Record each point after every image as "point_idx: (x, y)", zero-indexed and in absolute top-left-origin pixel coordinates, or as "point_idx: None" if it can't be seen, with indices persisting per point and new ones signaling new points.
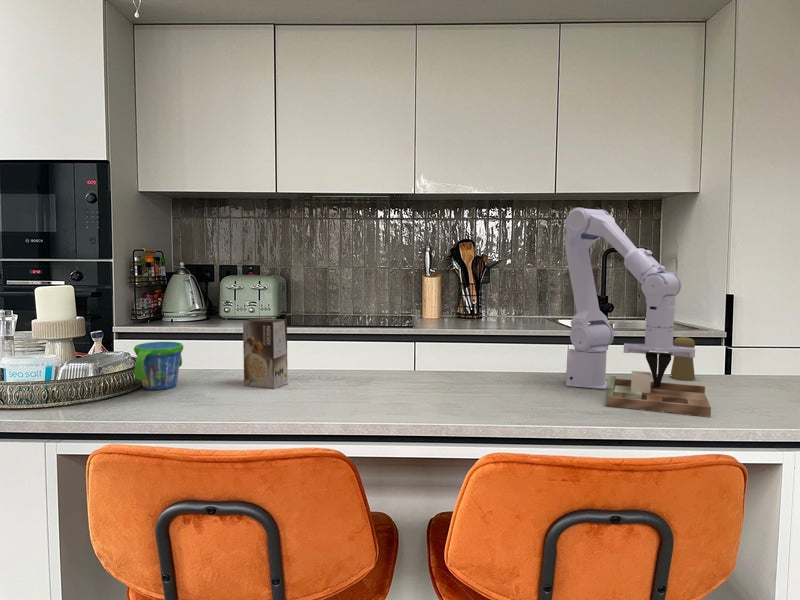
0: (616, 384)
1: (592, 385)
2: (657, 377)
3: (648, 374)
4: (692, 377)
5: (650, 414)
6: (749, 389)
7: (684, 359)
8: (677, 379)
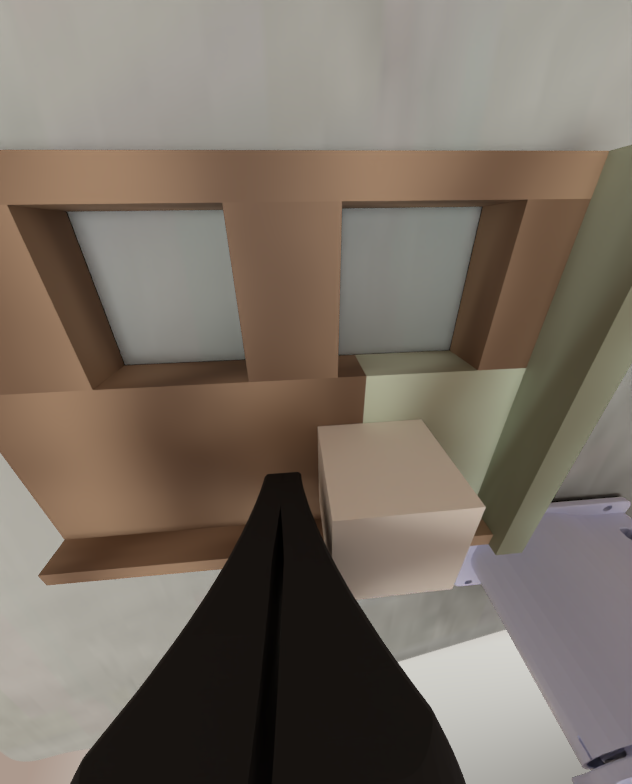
0: None
1: None
2: (281, 543)
3: (350, 542)
4: None
5: (302, 19)
6: (41, 674)
7: None
8: None
